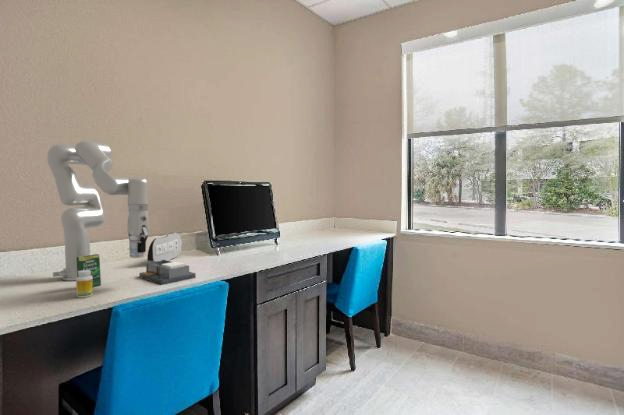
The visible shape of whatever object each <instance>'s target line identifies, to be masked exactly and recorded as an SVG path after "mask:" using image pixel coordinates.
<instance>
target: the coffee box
mask: <svg viewBox="0 0 624 415" xmlns="http://www.w3.org/2000/svg"><path fill="white" fill-rule="evenodd" d="M76 260H77V277H79V275H78V271H81V270H90V271H91V274H90V275H91V276H92V277H93V288H94V287H99V286H101V285H102V282H101V281H102V280H101V277H102V276H101V260H100V254H98V253H94V254H90V255H88V256H80V257H76Z"/></svg>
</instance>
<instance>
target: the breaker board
mask: <svg viewBox="0 0 624 415" xmlns="http://www.w3.org/2000/svg"><path fill="white" fill-rule="evenodd" d="M171 262H172V261H171V260H169V261H167V260H163V261H149V262H146V263H145V271H143V272H142V271H141V272H139V273H138V274H139V278H140V277H141V279H143V280H147V279H148V280H147V281H150V280H151V281H150V282H153V281H154V282H153V283H156V284H159V285H163V286H164V284H165V285H169V284H173V282H174V283H177V282H182V281H186V280H192V279H196V272H192V271H190V265H187V264H185V266H184V267H178V268H173V269H168V268H165V267H162V264H165V263H171Z"/></svg>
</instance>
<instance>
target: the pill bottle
mask: <svg viewBox="0 0 624 415" xmlns="http://www.w3.org/2000/svg"><path fill="white" fill-rule="evenodd" d="M131 233H132V236H130V250H129V258H132V259H140V258H141V259H142V258H144V257H146V255H147V254H146V252H141V253H138V243H139V242H138V236H135V235H134V233H133V231H131ZM140 235H143V234H140ZM140 238H142V237H140Z"/></svg>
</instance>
